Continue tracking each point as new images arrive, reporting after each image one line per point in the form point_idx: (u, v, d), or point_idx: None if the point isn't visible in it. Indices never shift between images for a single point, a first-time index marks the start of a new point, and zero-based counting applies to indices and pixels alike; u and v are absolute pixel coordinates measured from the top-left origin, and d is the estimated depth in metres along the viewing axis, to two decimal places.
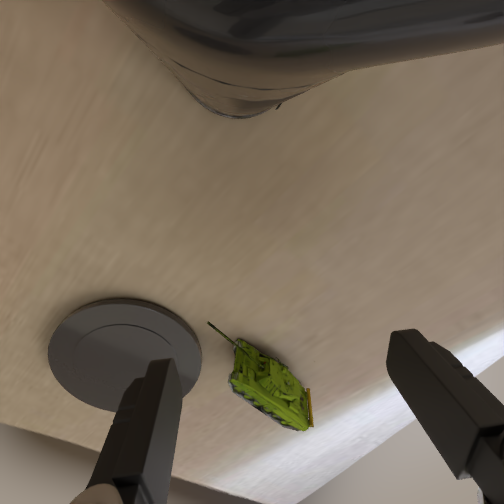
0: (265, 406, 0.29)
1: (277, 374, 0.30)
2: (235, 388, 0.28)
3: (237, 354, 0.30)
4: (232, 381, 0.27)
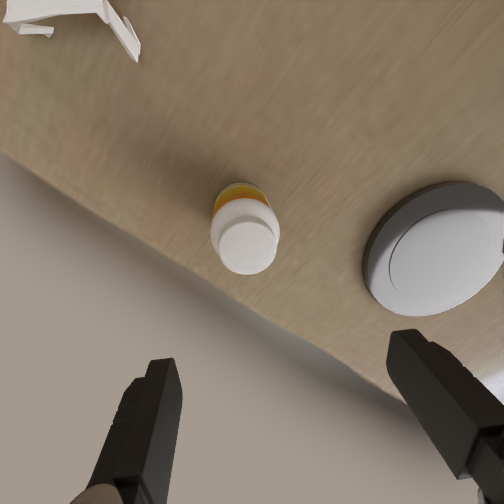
0: None
1: None
2: None
3: None
4: None
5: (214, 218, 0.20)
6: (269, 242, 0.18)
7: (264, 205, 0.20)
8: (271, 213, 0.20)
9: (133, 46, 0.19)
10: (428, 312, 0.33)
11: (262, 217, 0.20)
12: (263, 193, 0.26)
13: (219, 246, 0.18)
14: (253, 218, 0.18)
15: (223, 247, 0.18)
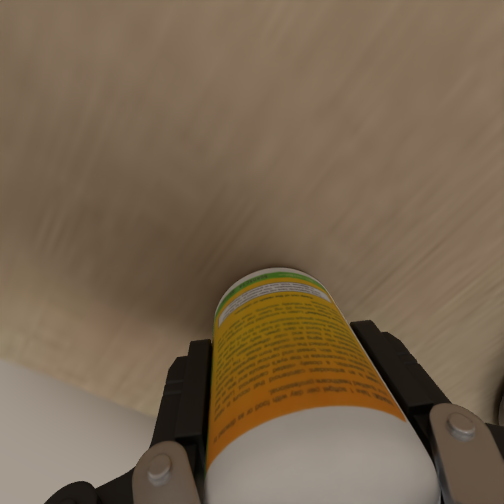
0: None
1: None
2: None
3: None
4: None
5: (217, 483, 0.06)
6: None
7: (400, 435, 0.05)
8: (427, 465, 0.05)
9: None
10: None
11: (406, 503, 0.05)
12: (327, 291, 0.11)
13: None
14: None
15: None
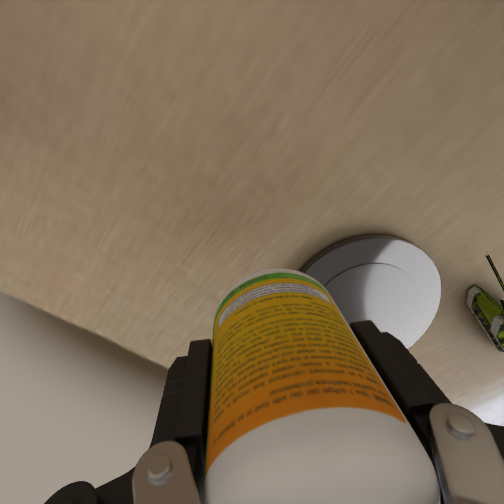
0: None
1: None
2: (498, 333, 0.26)
3: (487, 299, 0.27)
4: None
5: (216, 484, 0.06)
6: None
7: (400, 437, 0.05)
8: (427, 466, 0.05)
9: None
10: None
11: None
12: (327, 292, 0.11)
13: None
14: None
15: None
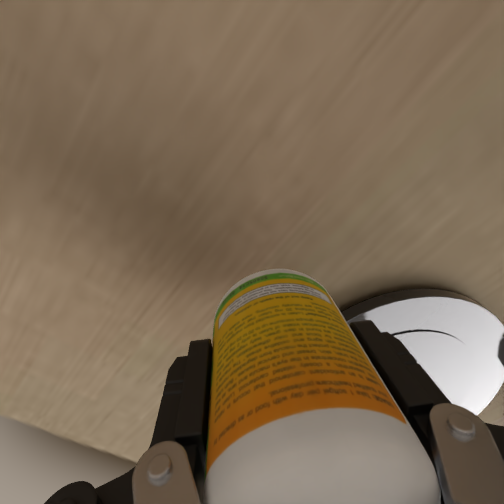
0: None
1: None
2: None
3: None
4: None
5: (217, 485, 0.06)
6: None
7: (400, 437, 0.05)
8: (427, 467, 0.05)
9: None
10: None
11: None
12: (327, 292, 0.11)
13: None
14: None
15: None
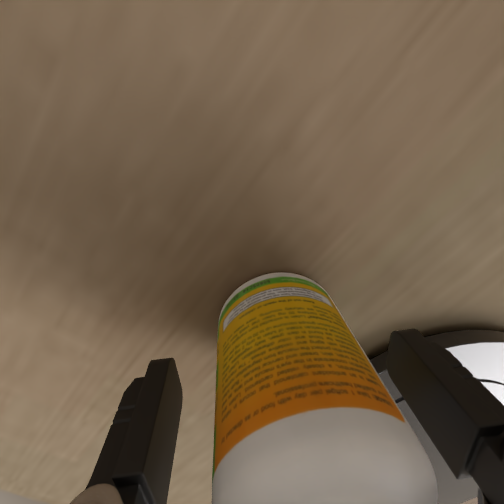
0: None
1: None
2: None
3: None
4: None
5: (225, 481, 0.06)
6: None
7: (399, 435, 0.06)
8: (424, 463, 0.06)
9: None
10: None
11: (404, 499, 0.05)
12: (328, 295, 0.12)
13: None
14: None
15: None
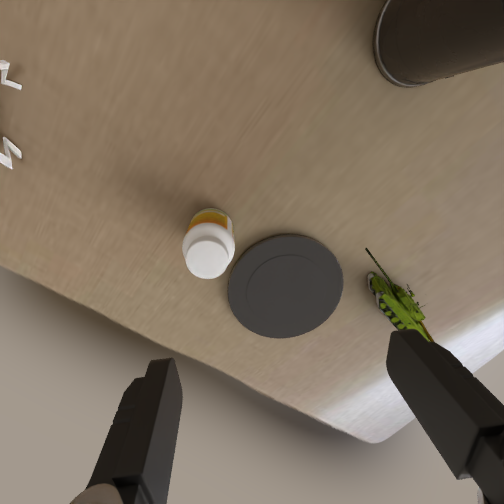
0: (402, 321, 0.36)
1: (408, 297, 0.37)
2: (380, 305, 0.36)
3: (376, 281, 0.37)
4: (383, 296, 0.34)
5: (184, 238, 0.27)
6: (222, 254, 0.25)
7: (221, 227, 0.27)
8: (226, 233, 0.27)
9: (6, 160, 0.27)
10: (292, 334, 0.40)
11: (219, 236, 0.27)
12: (227, 216, 0.33)
13: (186, 258, 0.25)
14: (210, 238, 0.25)
15: (189, 259, 0.25)
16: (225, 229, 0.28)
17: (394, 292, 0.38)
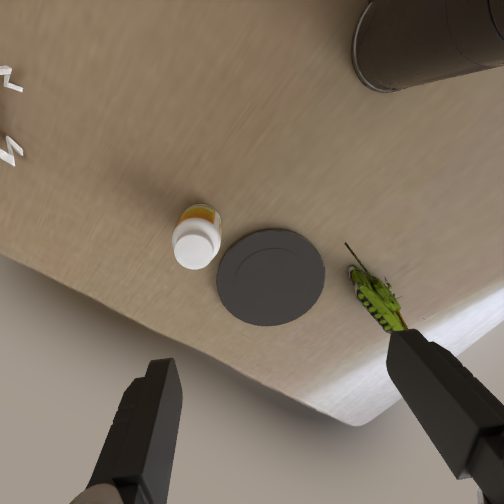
0: (378, 311, 0.39)
1: (385, 288, 0.40)
2: (358, 296, 0.38)
3: (356, 273, 0.40)
4: (360, 287, 0.37)
5: (174, 231, 0.30)
6: (207, 247, 0.28)
7: (207, 222, 0.30)
8: (212, 227, 0.30)
9: (9, 158, 0.29)
10: (277, 322, 0.43)
11: (205, 230, 0.29)
12: (215, 211, 0.35)
13: (174, 250, 0.28)
14: (196, 232, 0.28)
15: (177, 251, 0.28)
16: (211, 224, 0.30)
17: (372, 284, 0.40)
